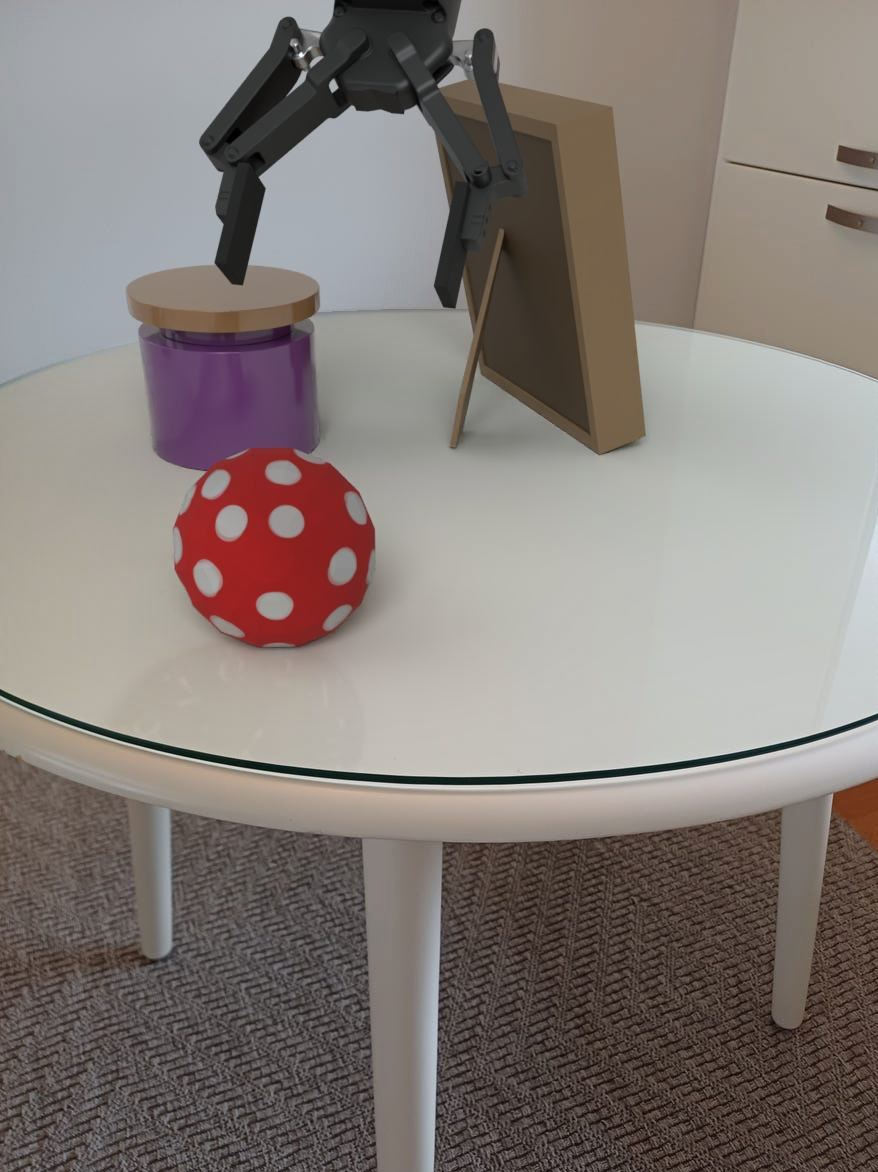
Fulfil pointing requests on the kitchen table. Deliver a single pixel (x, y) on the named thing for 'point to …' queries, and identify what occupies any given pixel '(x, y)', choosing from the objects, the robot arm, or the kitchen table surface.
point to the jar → (227, 361)
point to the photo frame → (553, 270)
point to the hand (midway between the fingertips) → (334, 286)
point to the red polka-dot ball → (274, 547)
